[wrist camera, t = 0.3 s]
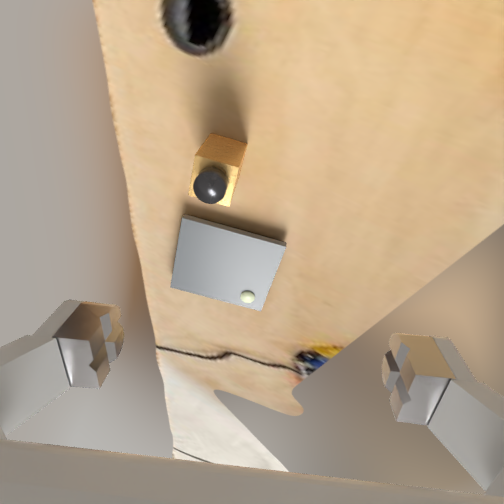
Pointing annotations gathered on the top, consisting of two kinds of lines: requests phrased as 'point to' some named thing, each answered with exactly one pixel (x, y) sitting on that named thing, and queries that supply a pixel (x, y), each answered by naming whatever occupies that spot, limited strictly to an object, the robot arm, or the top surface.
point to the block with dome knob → (217, 169)
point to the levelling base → (225, 262)
